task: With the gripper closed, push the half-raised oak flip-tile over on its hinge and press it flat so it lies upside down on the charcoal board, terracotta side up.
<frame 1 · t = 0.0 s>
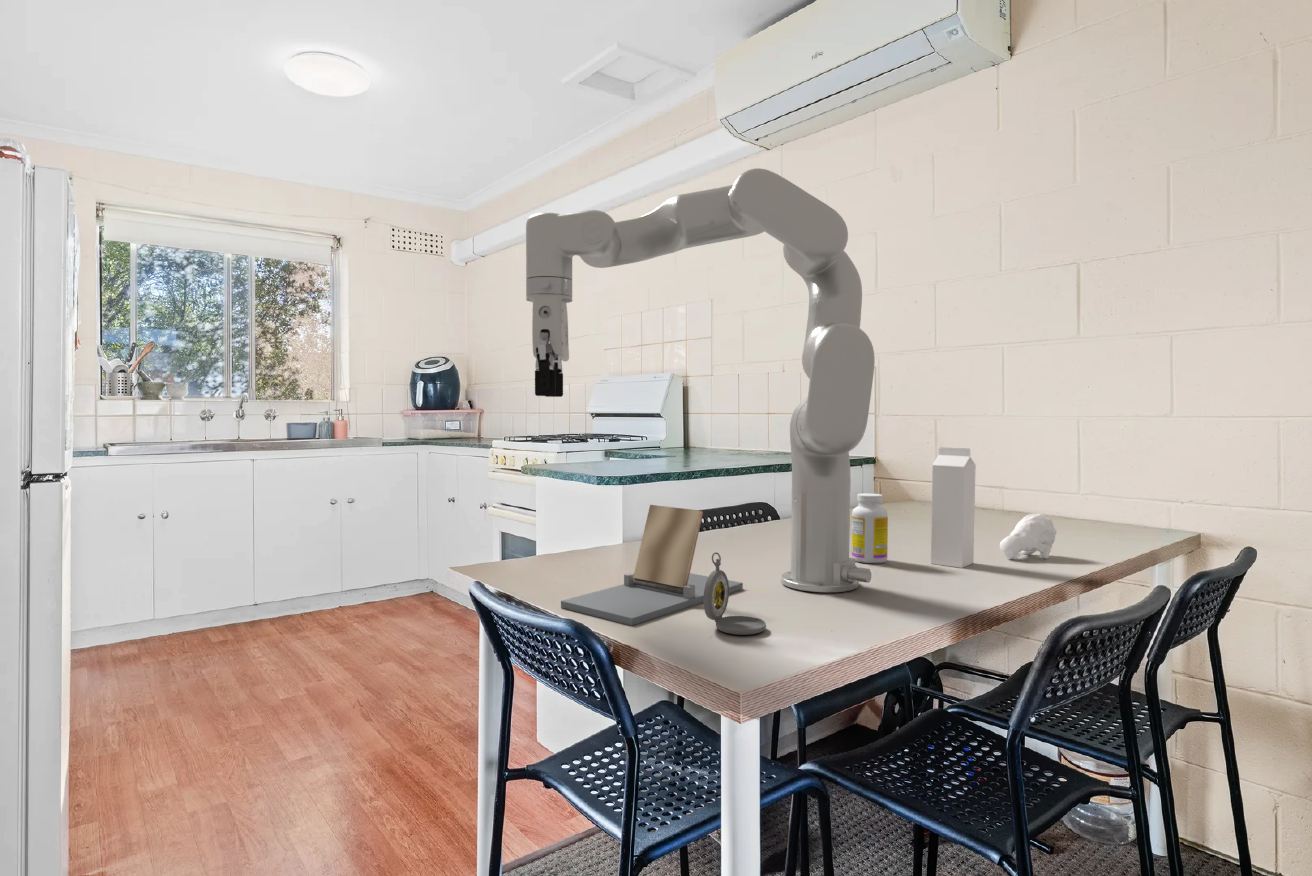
hand: (549, 396, 124), 31 cm above the table, tool pointing down, fingers open, 9 cm apart
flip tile: (666, 548, 118), point 7 cm above the table, hinge at 70.0°
supplement bottle: (869, 561, 145), on the table
white animal figurine: (1024, 559, 149), on the table
pocket watch: (732, 629, 101), on the table
milk: (951, 564, 143), on the table
board: (656, 597, 116), on the table
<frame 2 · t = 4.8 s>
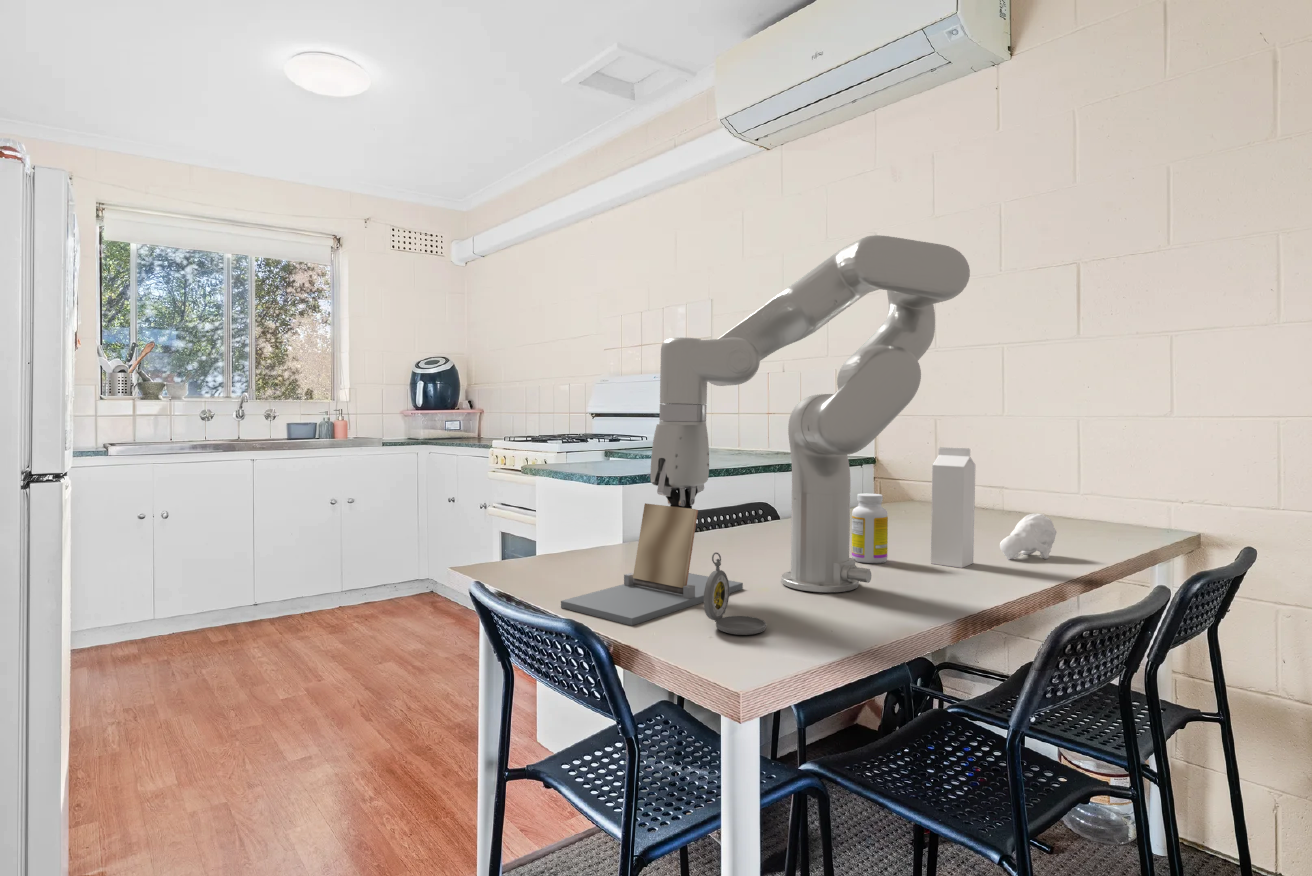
hand: (680, 529, 121), 10 cm above the table, tool pointing down, fingers closed
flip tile: (664, 547, 117), point 8 cm above the table, hinge at 76.4°, touching gripper
everything else where it was.
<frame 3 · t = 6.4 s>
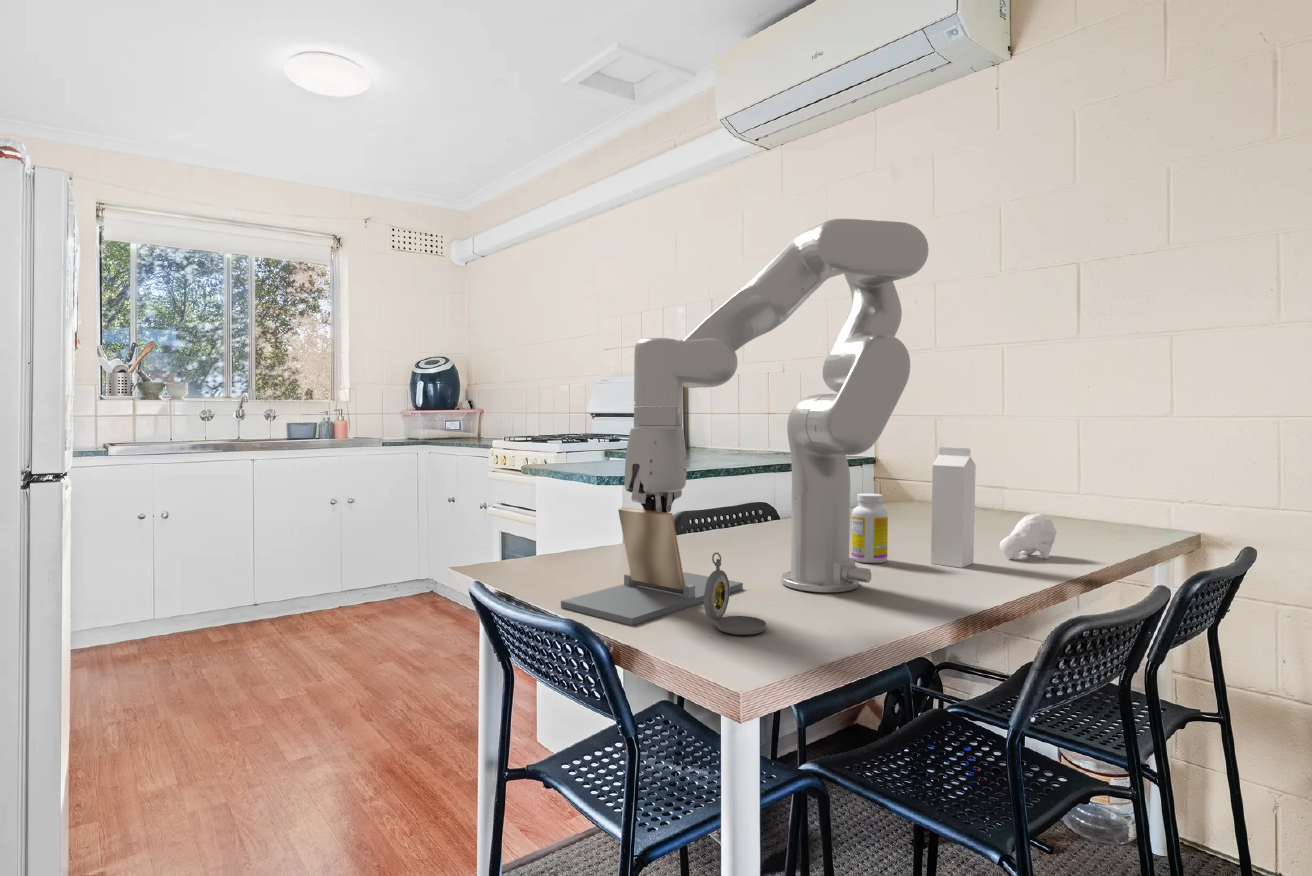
hand: (657, 537, 116), 9 cm above the table, tool pointing down, fingers closed
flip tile: (651, 550, 115), point 7 cm above the table, hinge at 105.6°, touching gripper
everything else where it was.
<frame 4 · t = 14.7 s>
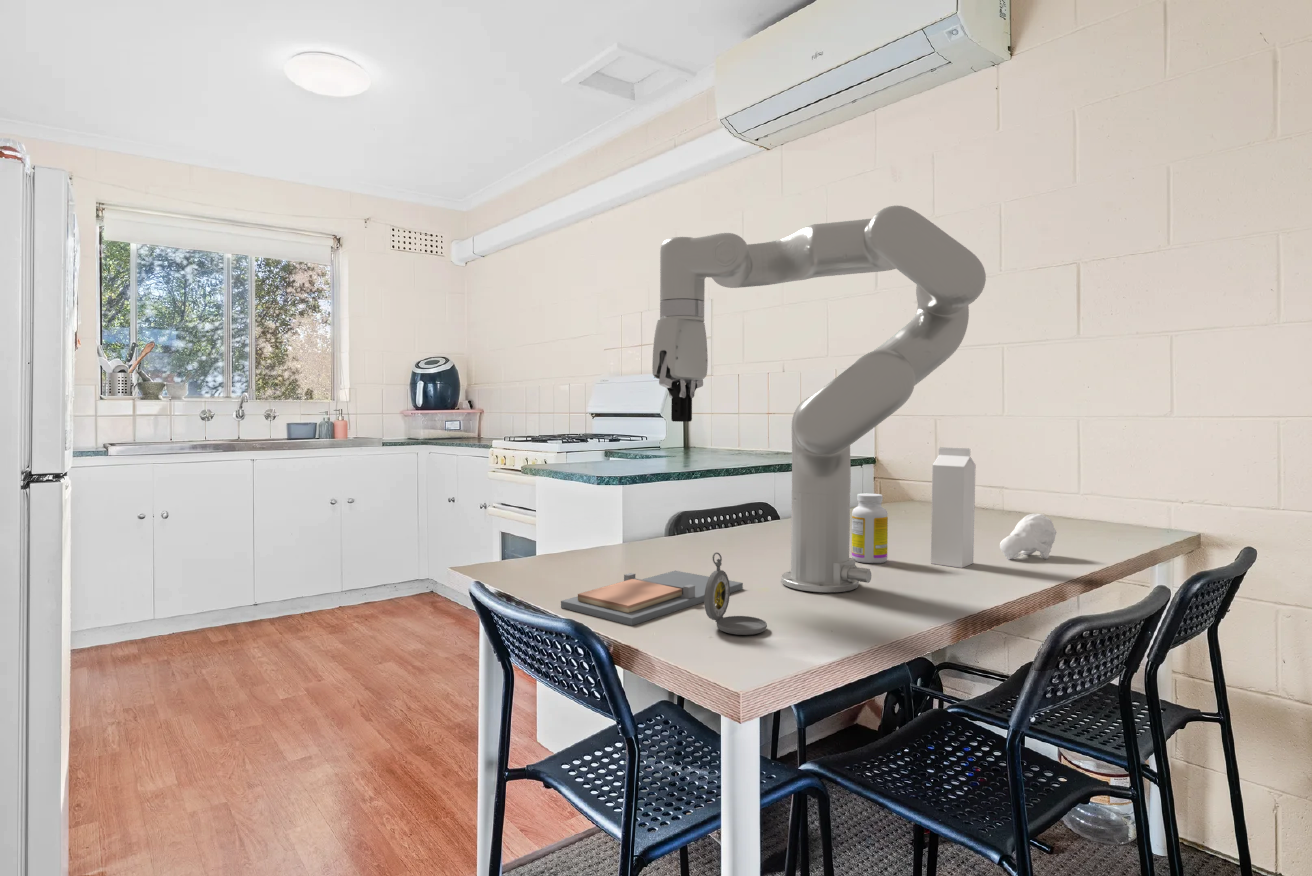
hand: (681, 421, 128), 27 cm above the table, tool pointing down, fingers closed
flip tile: (632, 594, 112), point 2 cm above the table, hinge at 180.7°
everything else where it was.
at the end: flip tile at +181° (first picture: +70°); the gripper is holding nothing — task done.
